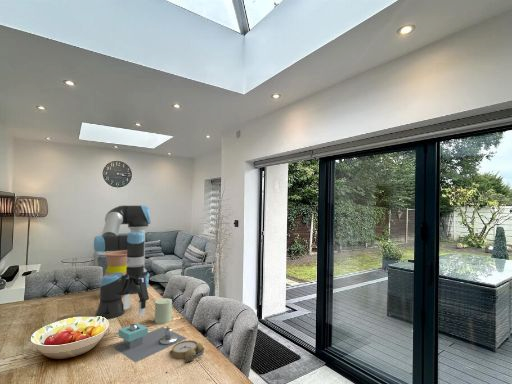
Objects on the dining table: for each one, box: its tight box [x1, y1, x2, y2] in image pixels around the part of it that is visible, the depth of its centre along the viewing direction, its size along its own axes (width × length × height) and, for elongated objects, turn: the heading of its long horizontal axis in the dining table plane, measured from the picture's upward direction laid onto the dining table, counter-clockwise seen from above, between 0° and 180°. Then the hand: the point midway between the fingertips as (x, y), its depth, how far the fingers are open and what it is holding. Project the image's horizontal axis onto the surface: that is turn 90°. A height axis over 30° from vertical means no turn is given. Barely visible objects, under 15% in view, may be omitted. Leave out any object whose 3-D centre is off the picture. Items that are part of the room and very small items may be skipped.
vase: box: [103, 250, 127, 298], centre depth 201 cm, size 22×22×30 cm
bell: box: [159, 325, 177, 345], centre depth 130 cm, size 8×8×6 cm
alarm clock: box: [169, 340, 205, 362], centre depth 119 cm, size 11×5×15 cm
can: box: [154, 297, 173, 325], centre depth 153 cm, size 9×9×12 cm
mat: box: [112, 326, 188, 363], centre depth 128 cm, size 20×26×1 cm
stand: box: [122, 323, 143, 349], centre depth 127 cm, size 6×6×8 cm
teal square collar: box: [118, 322, 149, 342], centre depth 127 cm, size 9×9×3 cm
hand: (133, 312), depth 127 cm, fingers open, 13 cm apart
